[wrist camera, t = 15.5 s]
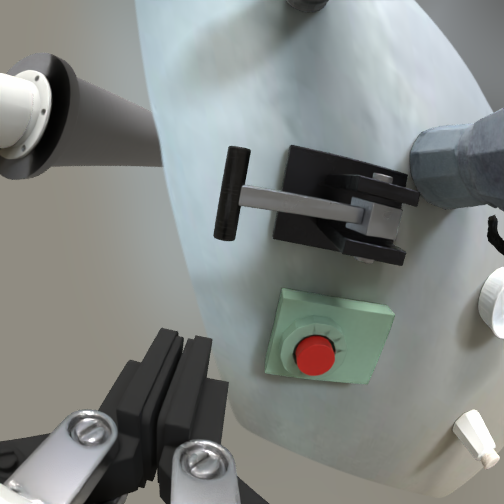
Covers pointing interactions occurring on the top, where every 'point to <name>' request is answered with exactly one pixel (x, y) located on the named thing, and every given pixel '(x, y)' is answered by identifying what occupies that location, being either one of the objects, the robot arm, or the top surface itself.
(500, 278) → the ramekin
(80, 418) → the robot arm
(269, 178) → the top surface
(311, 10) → the beverage cup
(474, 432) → the pepper shaker
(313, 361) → the stop button
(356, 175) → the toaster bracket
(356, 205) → the lever
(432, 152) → the moka pot
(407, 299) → the top surface
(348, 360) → the control block
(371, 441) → the top surface
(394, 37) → the top surface
